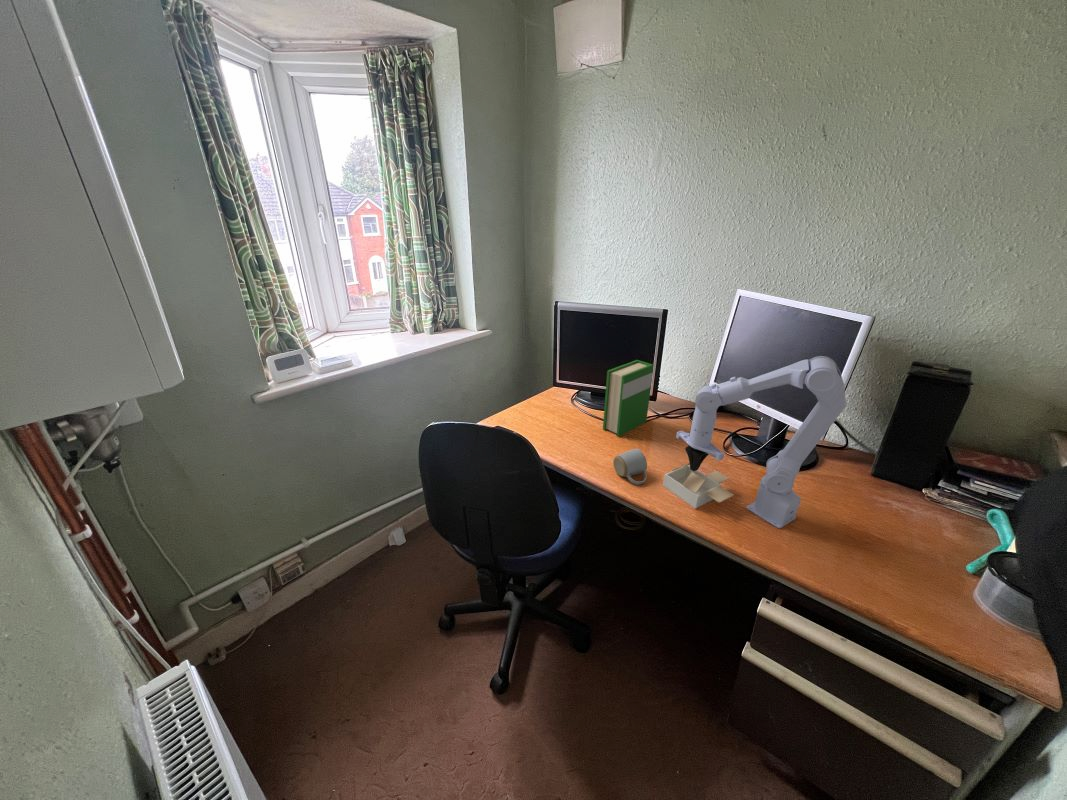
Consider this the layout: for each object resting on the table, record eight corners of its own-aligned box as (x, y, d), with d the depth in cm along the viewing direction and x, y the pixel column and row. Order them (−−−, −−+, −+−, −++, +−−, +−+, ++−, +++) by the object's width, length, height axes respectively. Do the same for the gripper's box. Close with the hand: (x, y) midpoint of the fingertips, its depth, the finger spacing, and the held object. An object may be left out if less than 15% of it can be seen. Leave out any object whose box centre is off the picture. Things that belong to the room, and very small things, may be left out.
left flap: (705, 480, 111) (705, 480, 110) (695, 493, 111) (695, 493, 110) (692, 472, 114) (691, 471, 114) (682, 484, 114) (682, 484, 114)
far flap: (697, 461, 119) (697, 460, 119) (683, 466, 116) (683, 465, 116) (686, 465, 123) (685, 464, 123) (672, 471, 120) (672, 470, 120)
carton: (743, 500, 115) (746, 488, 113) (709, 518, 108) (712, 505, 106) (695, 471, 128) (698, 460, 126) (662, 486, 121) (664, 474, 119)
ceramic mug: (610, 470, 129) (612, 450, 125) (631, 463, 132) (633, 444, 128) (631, 489, 120) (634, 468, 117) (652, 481, 123) (656, 461, 120)
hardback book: (618, 437, 148) (624, 376, 138) (602, 429, 153) (607, 370, 143) (646, 422, 158) (653, 364, 148) (630, 415, 163) (636, 359, 153)
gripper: (735, 435, 107) (724, 477, 113) (690, 414, 118) (683, 453, 124) (717, 442, 104) (708, 485, 110) (674, 420, 115) (667, 460, 121)
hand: (694, 469), depth 117 cm, fingers closed
